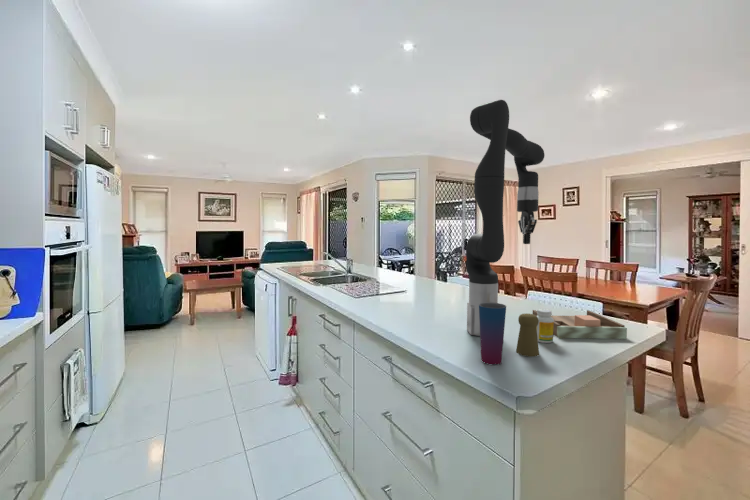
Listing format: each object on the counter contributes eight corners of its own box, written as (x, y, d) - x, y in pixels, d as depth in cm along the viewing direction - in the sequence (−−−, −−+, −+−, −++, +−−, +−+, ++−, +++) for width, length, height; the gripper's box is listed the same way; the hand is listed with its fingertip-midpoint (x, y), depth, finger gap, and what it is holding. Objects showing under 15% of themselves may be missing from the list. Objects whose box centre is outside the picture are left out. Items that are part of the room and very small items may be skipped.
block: (584, 330, 111) (584, 319, 111) (574, 325, 117) (574, 315, 117) (600, 330, 111) (600, 320, 111) (589, 325, 117) (589, 315, 117)
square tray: (558, 337, 110) (558, 325, 110) (532, 320, 131) (532, 310, 131) (626, 338, 109) (627, 326, 109) (589, 321, 130) (589, 310, 130)
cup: (473, 356, 94) (474, 302, 93) (498, 356, 95) (499, 302, 94) (483, 366, 87) (484, 308, 86) (509, 365, 88) (511, 307, 87)
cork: (541, 357, 94) (543, 317, 93) (518, 355, 95) (519, 316, 94) (536, 349, 100) (537, 312, 99) (514, 348, 101) (514, 311, 100)
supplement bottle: (530, 339, 109) (530, 309, 108) (541, 337, 111) (542, 307, 111) (545, 344, 104) (546, 313, 103) (556, 341, 106) (557, 311, 106)
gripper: (512, 200, 140) (511, 243, 141) (524, 197, 127) (523, 244, 128) (530, 200, 140) (529, 243, 141) (545, 197, 127) (543, 244, 128)
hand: (526, 243), depth 134 cm, fingers closed
